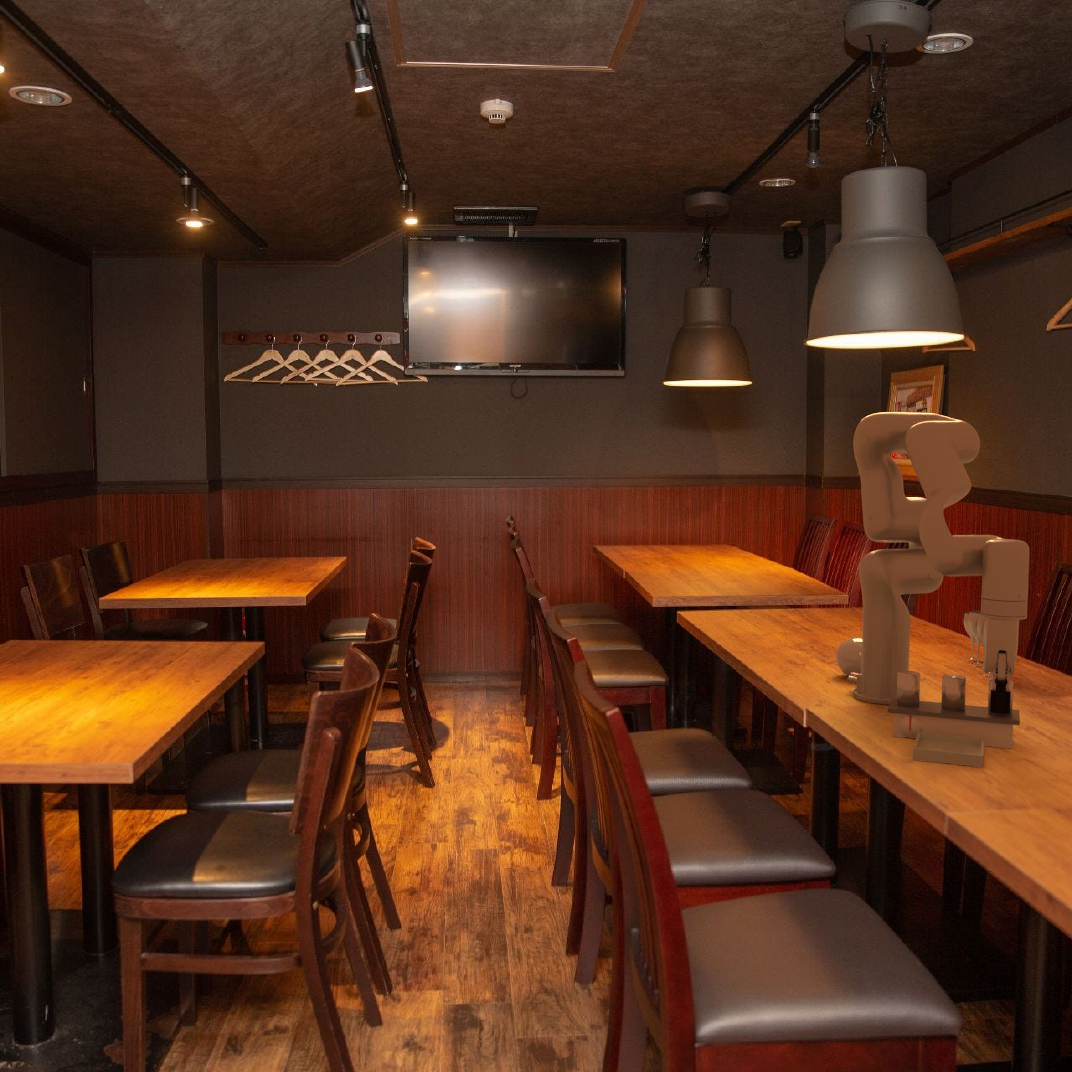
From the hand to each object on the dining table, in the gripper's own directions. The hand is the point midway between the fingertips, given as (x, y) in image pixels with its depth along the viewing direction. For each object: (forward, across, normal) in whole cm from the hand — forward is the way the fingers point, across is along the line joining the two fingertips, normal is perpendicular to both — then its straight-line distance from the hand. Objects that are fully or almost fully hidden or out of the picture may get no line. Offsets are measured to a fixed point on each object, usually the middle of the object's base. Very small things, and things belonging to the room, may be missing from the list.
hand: (1000, 709), depth 189 cm
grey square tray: (+6, +12, -8) cm, 16 cm away
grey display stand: (+6, 0, -8) cm, 10 cm away
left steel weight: (+1, 0, -16) cm, 16 cm away
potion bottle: (+6, -47, -28) cm, 55 cm away
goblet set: (+6, -68, -3) cm, 68 cm away
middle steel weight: (+1, 0, -8) cm, 8 cm away
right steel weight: (+1, 0, 0) cm, 1 cm away
